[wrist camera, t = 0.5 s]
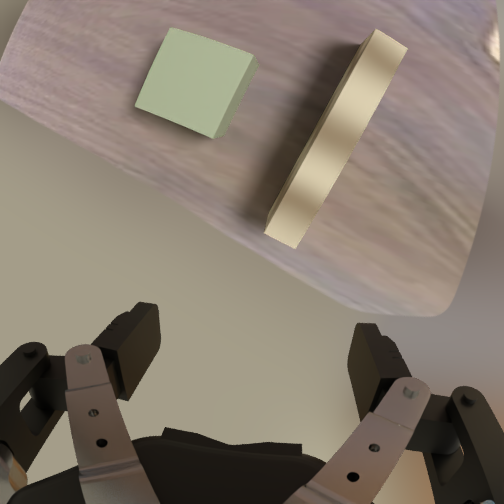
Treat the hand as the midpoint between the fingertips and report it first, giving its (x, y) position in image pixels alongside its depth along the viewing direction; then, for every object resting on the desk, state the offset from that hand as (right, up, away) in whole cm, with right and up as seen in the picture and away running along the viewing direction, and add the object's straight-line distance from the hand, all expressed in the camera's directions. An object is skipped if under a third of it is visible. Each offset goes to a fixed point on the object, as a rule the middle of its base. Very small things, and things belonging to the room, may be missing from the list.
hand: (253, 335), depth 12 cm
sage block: (-5, +20, +16) cm, 26 cm away
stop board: (+7, +15, +16) cm, 23 cm away
